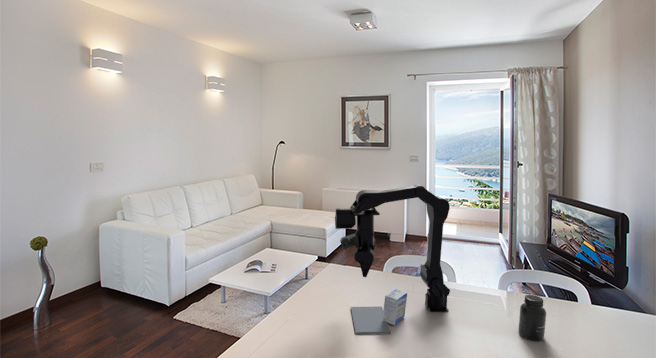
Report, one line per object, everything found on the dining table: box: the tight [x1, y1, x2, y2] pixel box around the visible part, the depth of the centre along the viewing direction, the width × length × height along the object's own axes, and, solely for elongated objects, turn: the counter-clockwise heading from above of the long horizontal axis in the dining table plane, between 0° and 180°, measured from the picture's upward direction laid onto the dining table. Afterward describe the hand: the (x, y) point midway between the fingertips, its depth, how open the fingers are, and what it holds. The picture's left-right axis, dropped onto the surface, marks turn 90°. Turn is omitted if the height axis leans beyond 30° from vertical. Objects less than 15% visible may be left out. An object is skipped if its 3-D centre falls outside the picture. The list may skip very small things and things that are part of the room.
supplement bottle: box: [518, 294, 547, 342], centre depth 105 cm, size 7×7×12 cm
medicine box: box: [383, 288, 408, 326], centre depth 114 cm, size 8×4×9 cm, turn 143°
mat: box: [350, 306, 392, 335], centre depth 114 cm, size 11×16×1 cm
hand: (365, 271), depth 119 cm, fingers open, 9 cm apart
